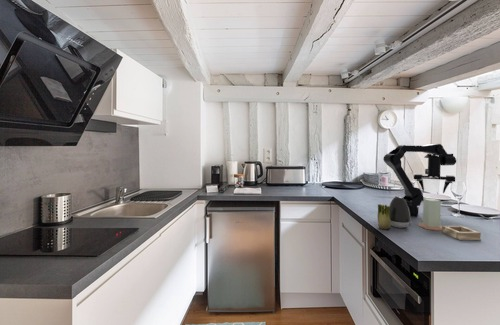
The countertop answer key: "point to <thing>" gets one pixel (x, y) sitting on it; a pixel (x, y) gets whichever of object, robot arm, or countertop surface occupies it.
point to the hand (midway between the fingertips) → (433, 192)
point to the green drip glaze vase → (383, 216)
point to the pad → (430, 227)
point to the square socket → (461, 232)
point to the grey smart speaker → (399, 213)
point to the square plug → (431, 212)
